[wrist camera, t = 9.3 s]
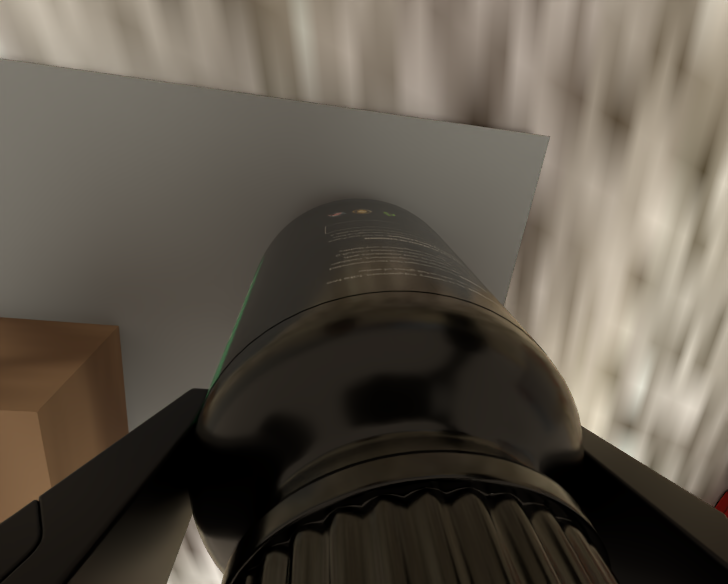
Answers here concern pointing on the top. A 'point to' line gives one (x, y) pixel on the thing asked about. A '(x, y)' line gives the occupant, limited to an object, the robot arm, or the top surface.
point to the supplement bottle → (386, 422)
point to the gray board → (215, 204)
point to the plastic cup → (723, 504)
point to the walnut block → (55, 403)
